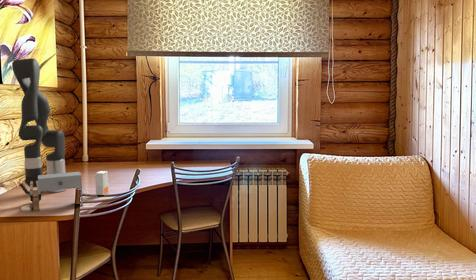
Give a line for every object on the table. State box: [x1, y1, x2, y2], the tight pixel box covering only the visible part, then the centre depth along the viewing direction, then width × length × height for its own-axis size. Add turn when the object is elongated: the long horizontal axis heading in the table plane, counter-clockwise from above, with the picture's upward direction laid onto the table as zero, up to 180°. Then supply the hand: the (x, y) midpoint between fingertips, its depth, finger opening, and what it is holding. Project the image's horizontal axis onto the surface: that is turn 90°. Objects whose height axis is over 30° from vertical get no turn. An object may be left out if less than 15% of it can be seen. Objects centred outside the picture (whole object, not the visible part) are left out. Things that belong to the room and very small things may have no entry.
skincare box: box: [94, 170, 109, 196], centre depth 224 cm, size 6×4×12 cm
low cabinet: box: [38, 171, 84, 207], centre depth 201 cm, size 10×18×15 cm, turn 115°
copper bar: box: [32, 189, 41, 212], centre depth 203 cm, size 18×2×6 cm, turn 26°
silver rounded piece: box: [20, 204, 34, 213], centre depth 196 cm, size 5×5×2 cm
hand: (35, 201), depth 208 cm, fingers closed on copper bar, 2 cm apart
